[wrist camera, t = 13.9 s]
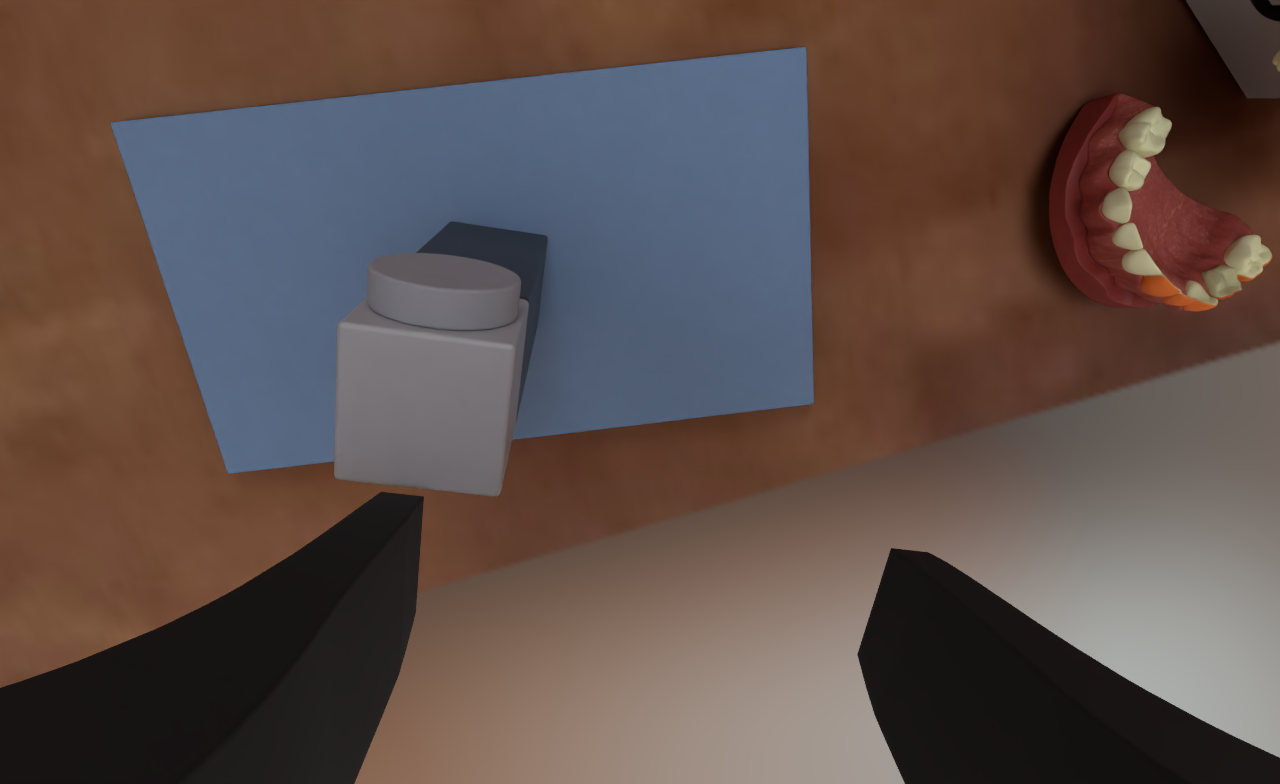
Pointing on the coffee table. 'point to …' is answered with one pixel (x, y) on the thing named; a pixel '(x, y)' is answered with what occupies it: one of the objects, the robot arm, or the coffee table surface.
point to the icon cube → (1245, 40)
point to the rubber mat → (507, 199)
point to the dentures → (1141, 217)
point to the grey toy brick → (439, 361)
